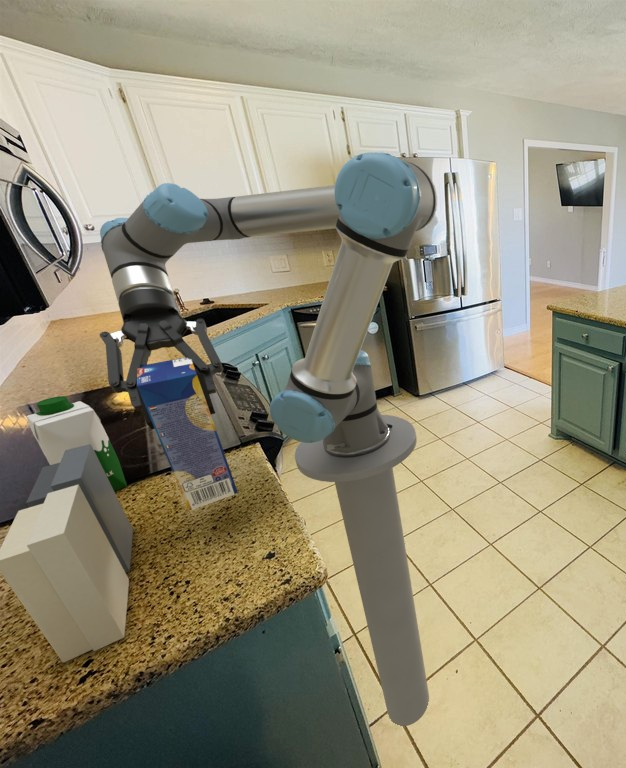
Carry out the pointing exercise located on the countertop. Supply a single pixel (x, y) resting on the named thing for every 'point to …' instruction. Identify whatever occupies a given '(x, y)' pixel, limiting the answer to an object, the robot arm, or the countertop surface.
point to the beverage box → (186, 431)
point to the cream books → (66, 574)
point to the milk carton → (74, 434)
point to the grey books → (89, 496)
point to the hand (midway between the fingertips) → (182, 417)
